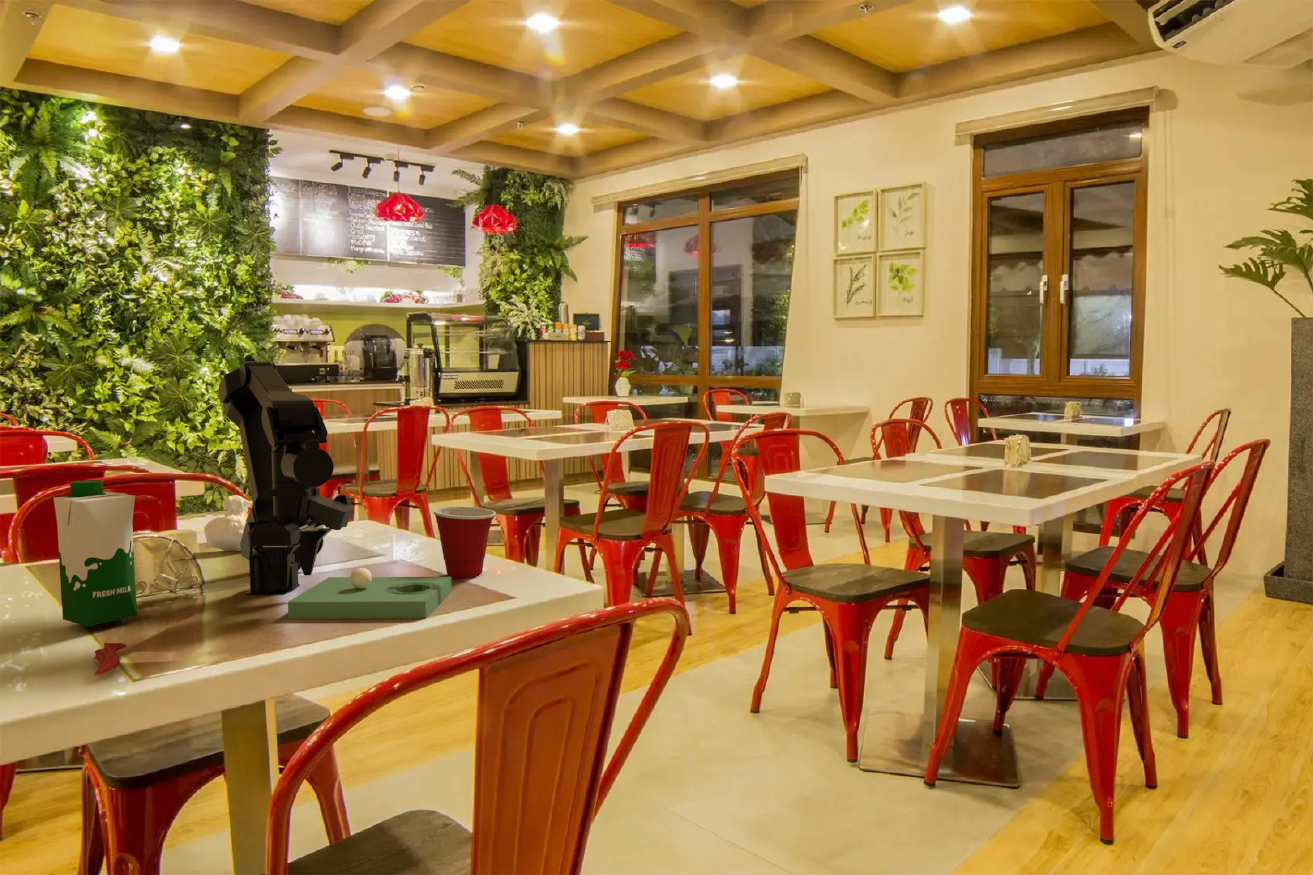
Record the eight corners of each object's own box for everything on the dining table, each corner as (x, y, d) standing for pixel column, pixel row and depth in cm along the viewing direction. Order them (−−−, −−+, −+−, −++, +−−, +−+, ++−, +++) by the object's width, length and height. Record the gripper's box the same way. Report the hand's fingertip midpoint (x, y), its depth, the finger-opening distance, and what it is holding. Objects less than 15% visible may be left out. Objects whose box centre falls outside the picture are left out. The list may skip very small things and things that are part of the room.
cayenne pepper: (108, 647, 117) (107, 632, 117) (146, 645, 118) (145, 630, 118) (64, 677, 106) (63, 661, 106) (107, 674, 106) (106, 658, 106)
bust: (194, 554, 178) (192, 498, 177) (213, 547, 185) (211, 493, 185) (255, 553, 178) (253, 497, 177) (271, 546, 186) (269, 493, 185)
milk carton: (115, 607, 136) (109, 477, 135) (147, 615, 132) (142, 480, 130) (52, 620, 129) (45, 483, 128) (84, 629, 124) (77, 487, 123)
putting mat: (288, 618, 129) (287, 601, 129) (329, 592, 145) (328, 577, 145) (425, 618, 129) (425, 601, 129) (451, 591, 145) (451, 576, 145)
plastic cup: (491, 583, 151) (489, 513, 150) (427, 584, 151) (425, 514, 150) (502, 570, 162) (501, 504, 161) (442, 570, 162) (441, 504, 161)
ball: (347, 591, 135) (346, 570, 135) (354, 586, 139) (353, 565, 138) (368, 591, 135) (367, 570, 135) (374, 586, 139) (374, 565, 138)
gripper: (322, 488, 127) (325, 596, 128) (365, 474, 145) (368, 568, 146) (244, 488, 127) (248, 596, 128) (297, 474, 145) (300, 568, 146)
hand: (296, 581), depth 137 cm, fingers open, 9 cm apart
